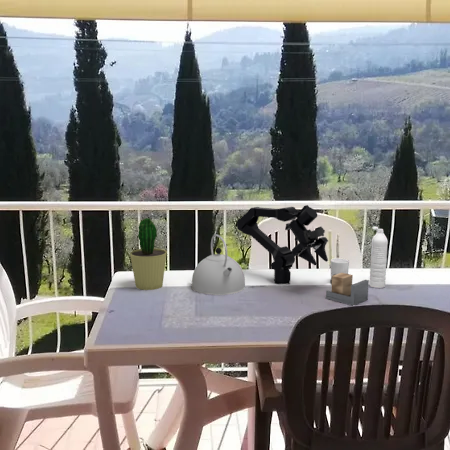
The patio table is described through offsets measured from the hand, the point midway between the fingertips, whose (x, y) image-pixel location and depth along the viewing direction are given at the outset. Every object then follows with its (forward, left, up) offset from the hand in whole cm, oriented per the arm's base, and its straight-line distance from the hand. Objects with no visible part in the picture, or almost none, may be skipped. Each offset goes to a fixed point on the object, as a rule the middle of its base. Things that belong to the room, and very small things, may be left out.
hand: (321, 262), depth 225 cm
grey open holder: (+9, -9, -12) cm, 18 cm away
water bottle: (+26, +9, -13) cm, 30 cm away
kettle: (-42, +6, -13) cm, 44 cm away
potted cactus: (-71, +8, -13) cm, 73 cm away
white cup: (+11, +13, -13) cm, 21 cm away
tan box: (+7, -7, -11) cm, 15 cm away
